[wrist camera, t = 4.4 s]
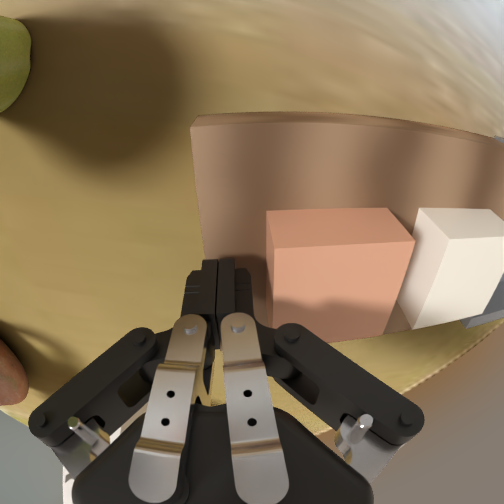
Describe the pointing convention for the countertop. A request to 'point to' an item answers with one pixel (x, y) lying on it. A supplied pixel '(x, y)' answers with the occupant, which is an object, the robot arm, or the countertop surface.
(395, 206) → the walnut ledge
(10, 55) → the plant pot
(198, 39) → the countertop surface
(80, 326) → the countertop surface
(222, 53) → the countertop surface
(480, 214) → the cream tile
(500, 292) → the box
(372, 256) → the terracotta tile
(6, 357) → the ceramic jug
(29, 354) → the countertop surface
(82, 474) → the robot arm
